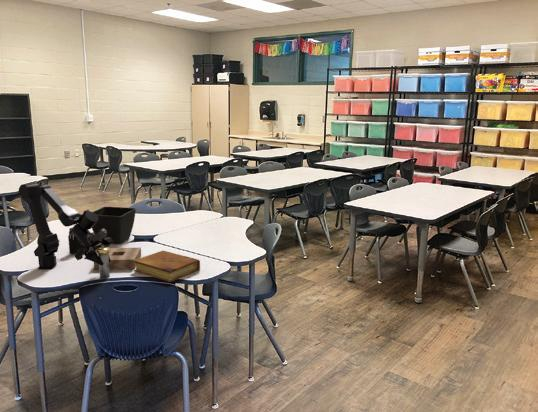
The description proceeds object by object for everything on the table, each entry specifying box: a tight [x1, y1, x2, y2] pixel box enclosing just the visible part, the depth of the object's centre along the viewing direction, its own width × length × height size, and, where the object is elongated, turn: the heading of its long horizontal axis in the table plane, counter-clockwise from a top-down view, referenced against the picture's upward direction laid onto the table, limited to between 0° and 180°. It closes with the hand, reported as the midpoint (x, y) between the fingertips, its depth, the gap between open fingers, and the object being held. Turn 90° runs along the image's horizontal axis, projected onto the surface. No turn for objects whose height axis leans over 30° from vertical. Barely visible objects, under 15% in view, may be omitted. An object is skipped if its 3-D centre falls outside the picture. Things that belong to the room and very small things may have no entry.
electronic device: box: [67, 234, 84, 255], centre depth 233 cm, size 4×10×10 cm, turn 164°
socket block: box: [93, 247, 142, 271], centre depth 218 cm, size 18×18×4 cm
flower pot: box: [91, 206, 137, 245], centre depth 252 cm, size 19×19×17 cm
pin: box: [96, 246, 111, 280], centre depth 199 cm, size 5×5×13 cm
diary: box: [133, 250, 201, 283], centre depth 209 cm, size 23×19×6 cm
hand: (106, 263), depth 198 cm, fingers closed on pin, 4 cm apart
